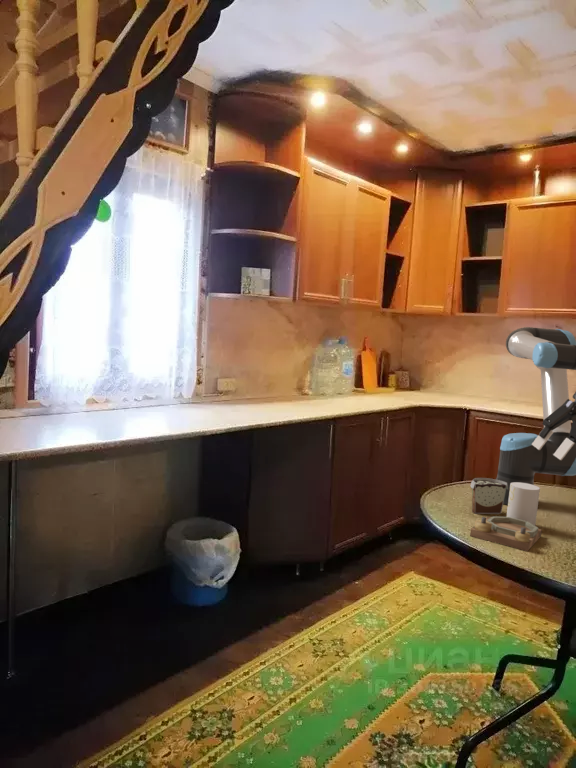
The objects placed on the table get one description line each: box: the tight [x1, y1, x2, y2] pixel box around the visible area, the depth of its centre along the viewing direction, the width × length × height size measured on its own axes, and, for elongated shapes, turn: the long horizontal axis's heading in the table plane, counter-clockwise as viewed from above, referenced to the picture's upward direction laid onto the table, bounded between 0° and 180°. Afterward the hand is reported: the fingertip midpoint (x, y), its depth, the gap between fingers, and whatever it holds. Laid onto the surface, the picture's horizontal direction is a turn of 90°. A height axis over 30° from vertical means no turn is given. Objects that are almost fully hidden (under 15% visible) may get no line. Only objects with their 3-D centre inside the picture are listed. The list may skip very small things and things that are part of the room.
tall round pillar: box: [506, 482, 541, 526], centre depth 173 cm, size 8×8×12 cm
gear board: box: [469, 516, 542, 552], centre depth 162 cm, size 16×15×5 cm
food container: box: [469, 477, 508, 515], centre depth 185 cm, size 12×6×10 cm, turn 104°
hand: (546, 452), depth 172 cm, fingers open, 13 cm apart
